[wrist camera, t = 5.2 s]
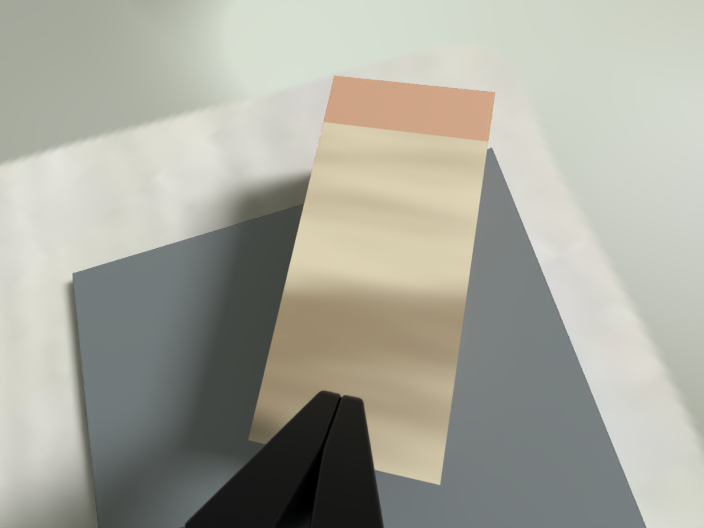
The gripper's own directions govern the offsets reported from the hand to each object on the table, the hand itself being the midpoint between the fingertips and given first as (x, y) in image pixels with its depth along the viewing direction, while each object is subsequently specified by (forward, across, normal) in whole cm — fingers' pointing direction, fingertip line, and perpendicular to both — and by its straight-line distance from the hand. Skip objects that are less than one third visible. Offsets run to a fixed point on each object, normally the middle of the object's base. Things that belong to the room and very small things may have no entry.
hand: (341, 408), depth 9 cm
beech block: (+2, 0, +4) cm, 4 cm away
